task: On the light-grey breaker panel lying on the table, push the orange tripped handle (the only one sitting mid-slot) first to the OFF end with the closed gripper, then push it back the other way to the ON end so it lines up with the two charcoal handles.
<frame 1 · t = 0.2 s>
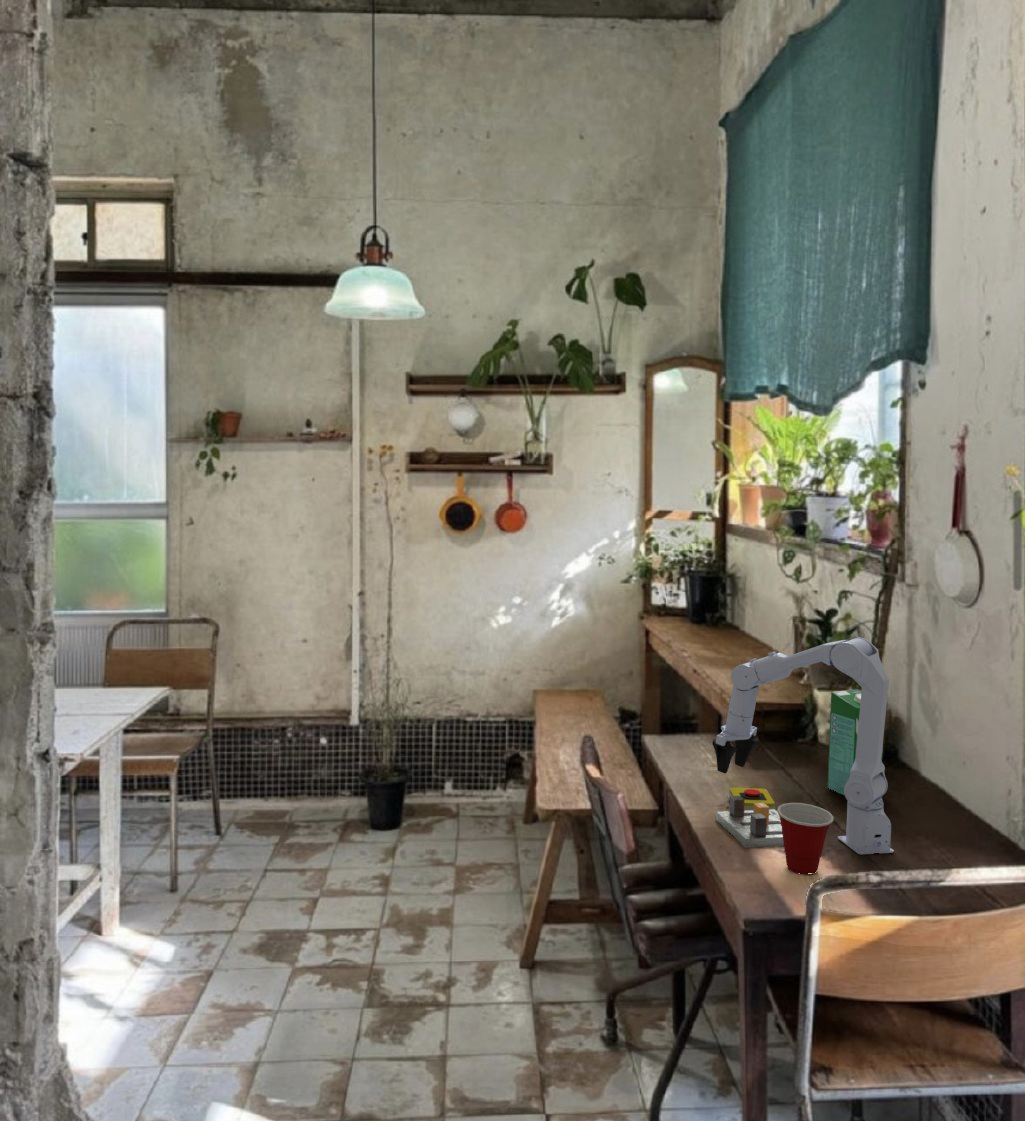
hand: (730, 768, 228), 10 cm above the table, tool pointing down, fingers open, 7 cm apart
emergency button: (751, 808, 234), on the table
milk carton: (853, 792, 246), on the table
plastic cup: (803, 870, 196), on the table
tripped breaker: (761, 813, 216), point 4 cm above the table, slide at 0.0 cm
breaker panel: (760, 832, 216), on the table
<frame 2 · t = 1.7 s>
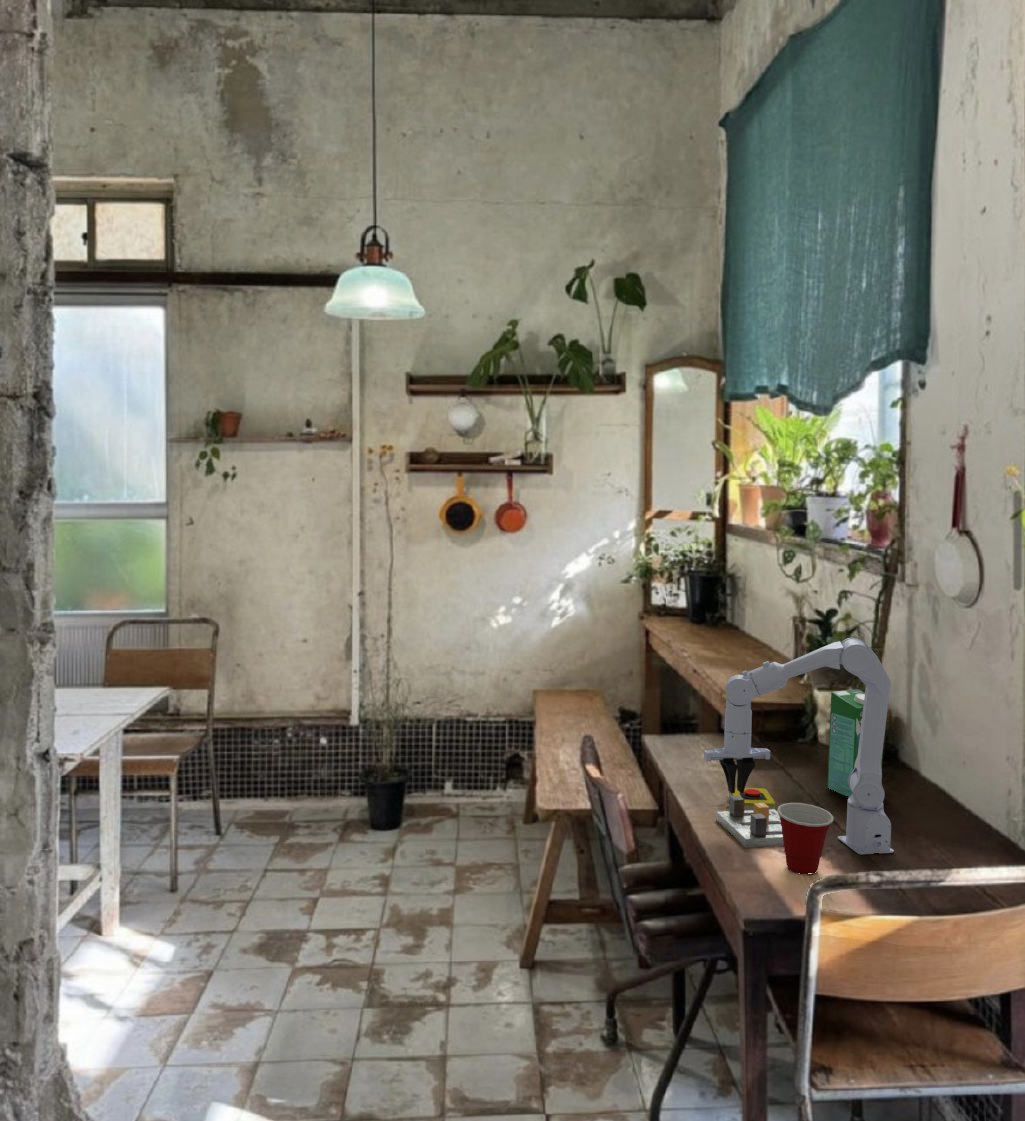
hand: (735, 791, 215), 9 cm above the table, tool pointing down, fingers closed
nothing on the table moved.
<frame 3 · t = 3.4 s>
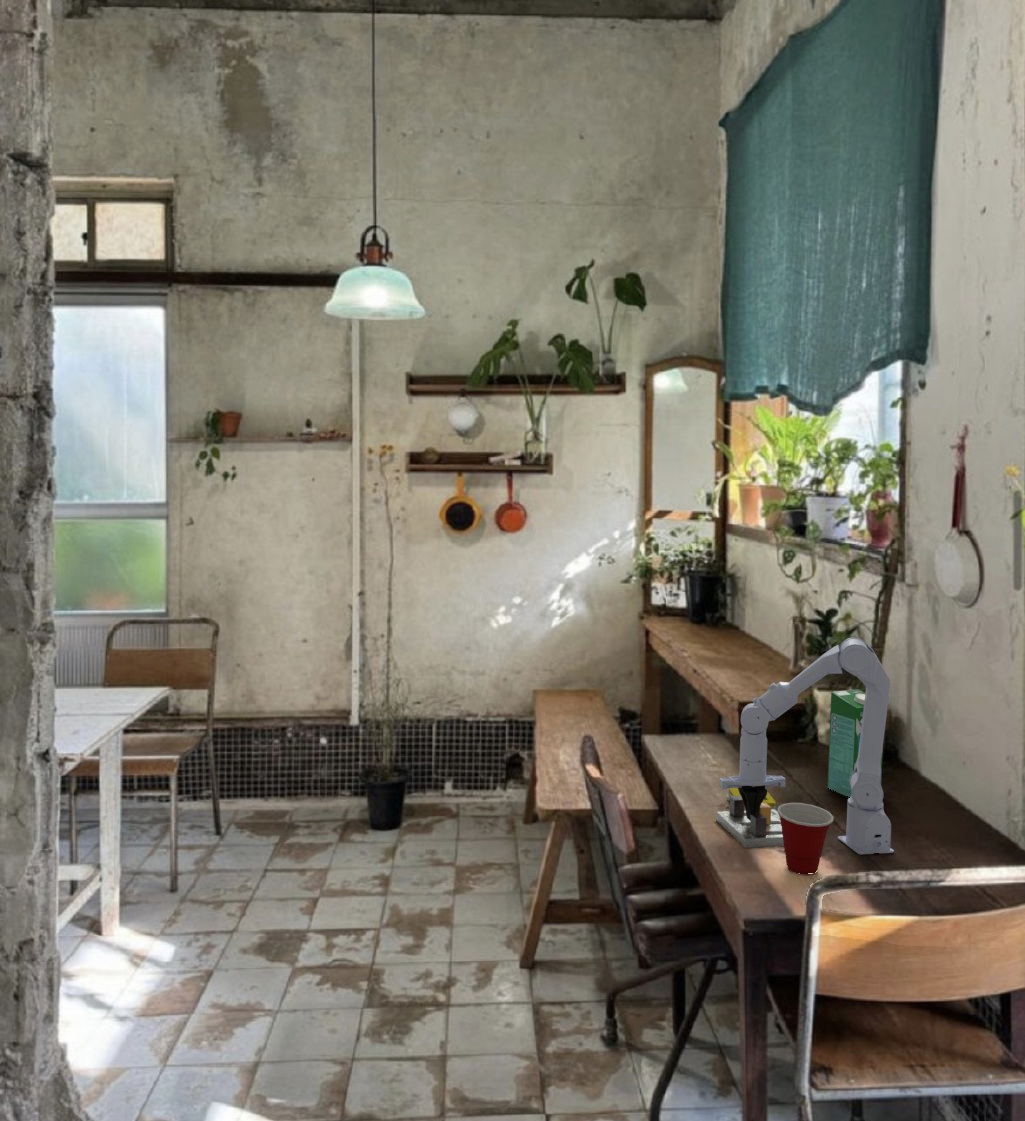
hand: (751, 819, 216), 3 cm above the table, tool pointing down, fingers closed
tripped breaker: (763, 813, 216), point 4 cm above the table, slide at -0.5 cm, touching gripper
everything else where it was.
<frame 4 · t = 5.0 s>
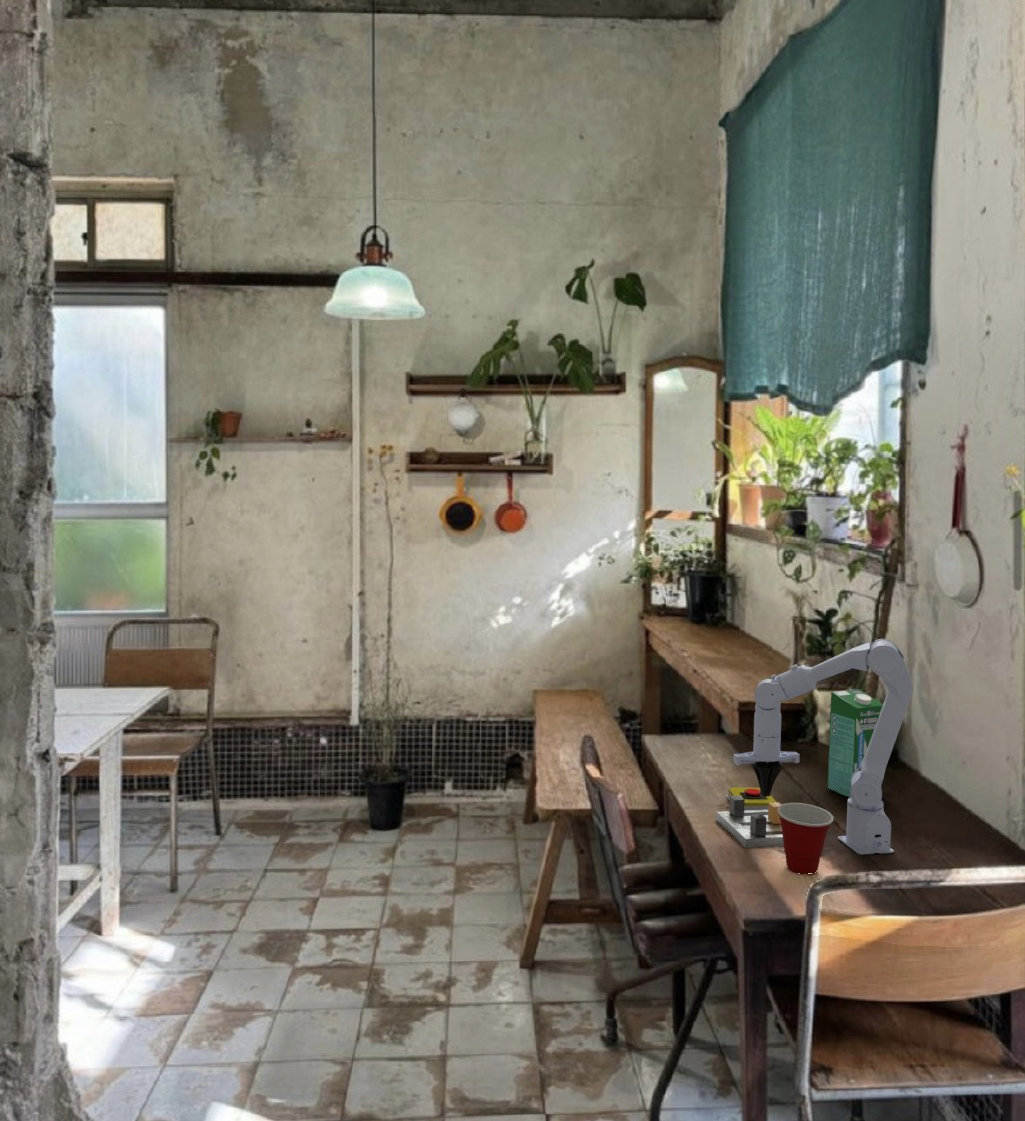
hand: (765, 795, 216), 8 cm above the table, tool pointing down, fingers closed
tripped breaker: (775, 812, 217), point 4 cm above the table, slide at -3.5 cm
everything else where it was.
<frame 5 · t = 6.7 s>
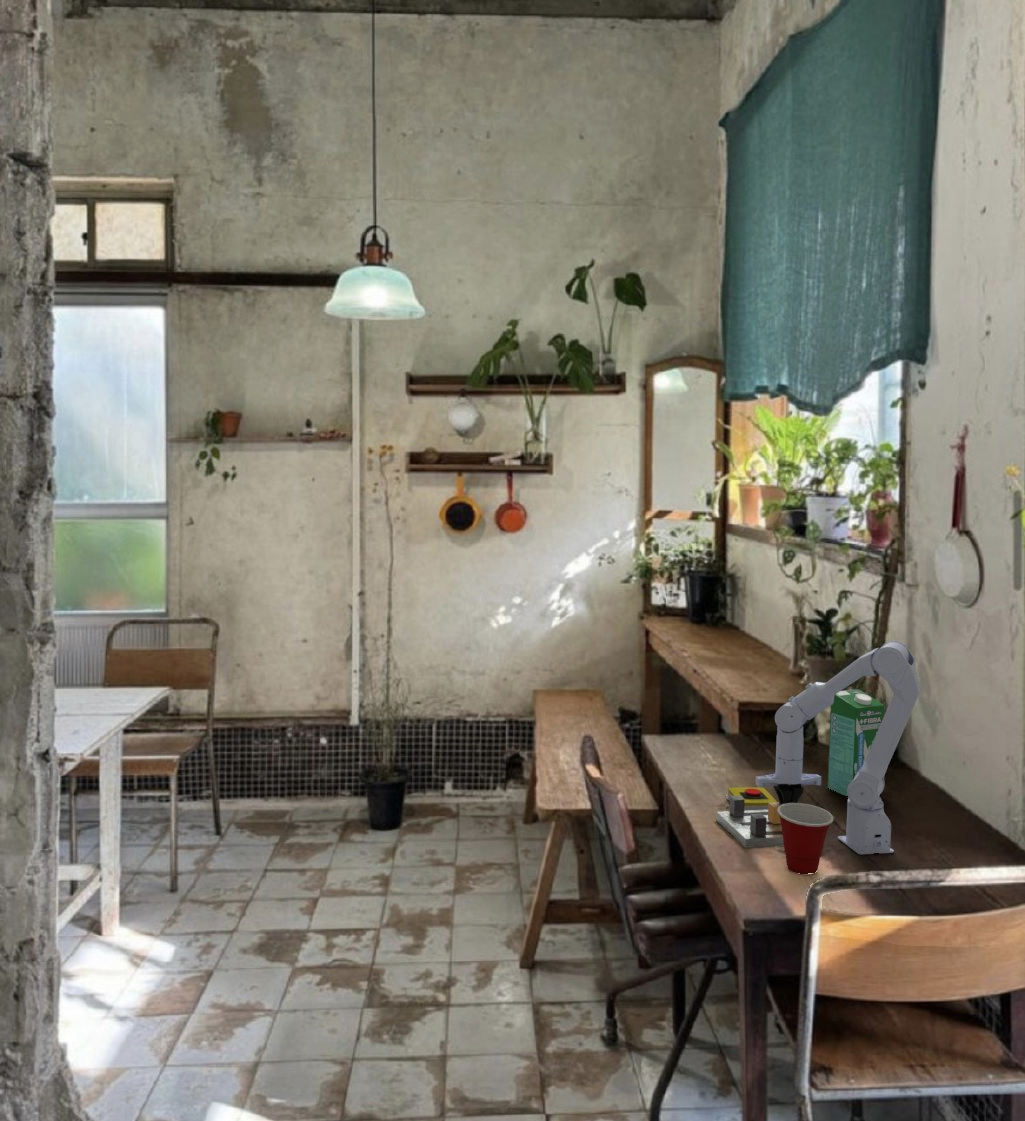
hand: (787, 817, 217), 3 cm above the table, tool pointing down, fingers closed
tripped breaker: (775, 812, 217), point 4 cm above the table, slide at -3.4 cm, touching gripper
everything else where it was.
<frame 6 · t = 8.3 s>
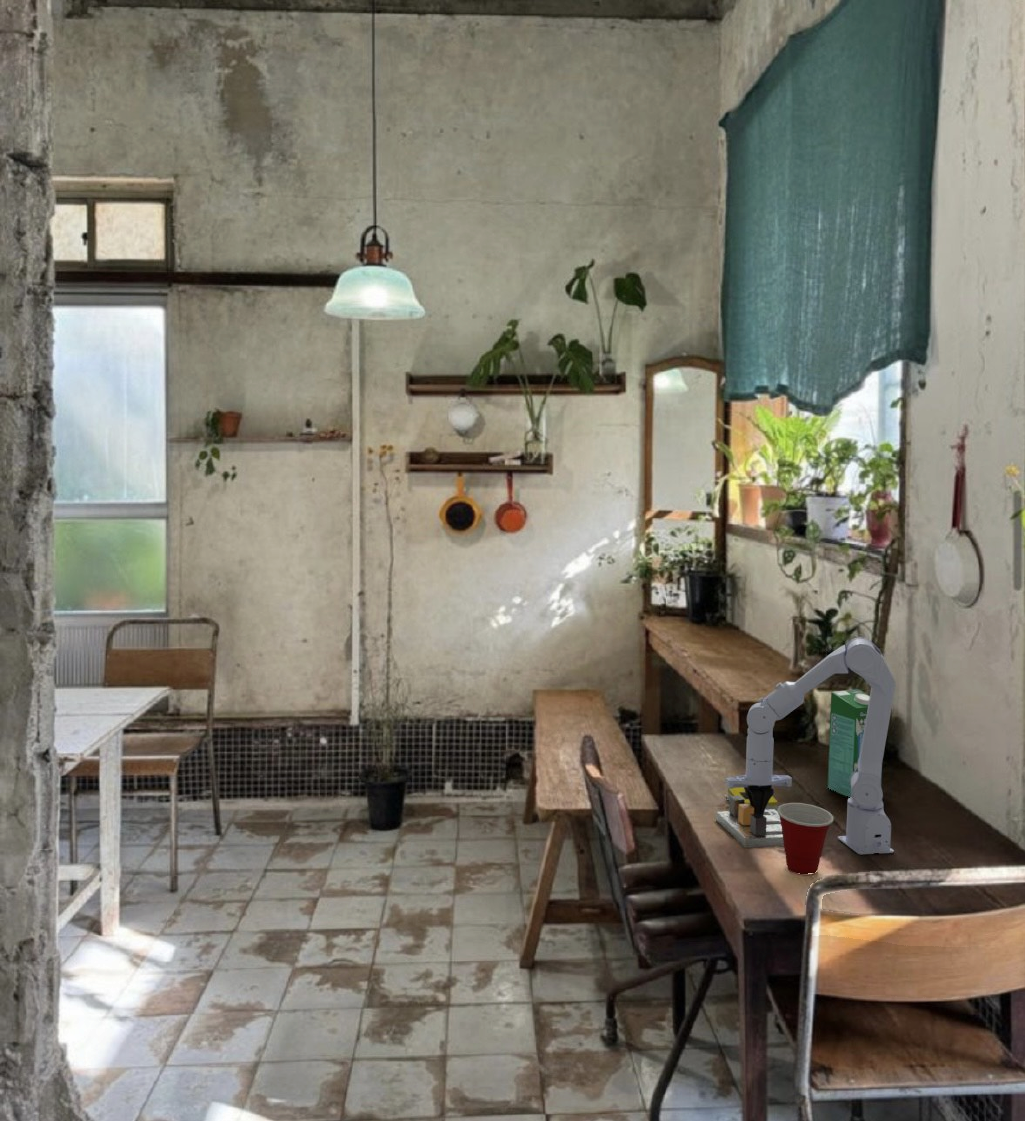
hand: (757, 818, 216), 3 cm above the table, tool pointing down, fingers closed
tripped breaker: (746, 814, 216), point 4 cm above the table, slide at 3.5 cm, touching gripper
everything else where it was.
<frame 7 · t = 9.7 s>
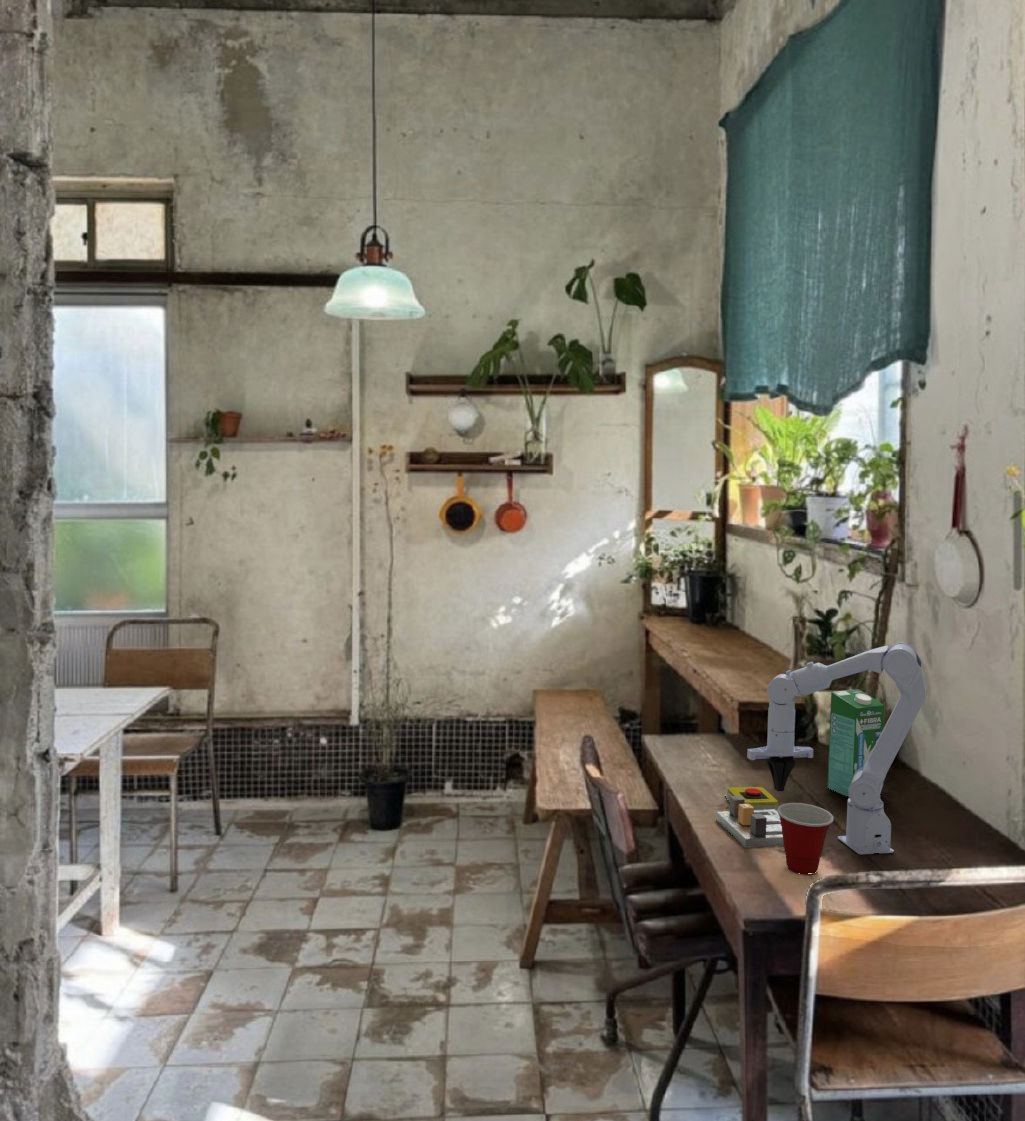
hand: (779, 789, 216), 9 cm above the table, tool pointing down, fingers closed
tripped breaker: (746, 814, 216), point 4 cm above the table, slide at 3.5 cm
everything else where it was.
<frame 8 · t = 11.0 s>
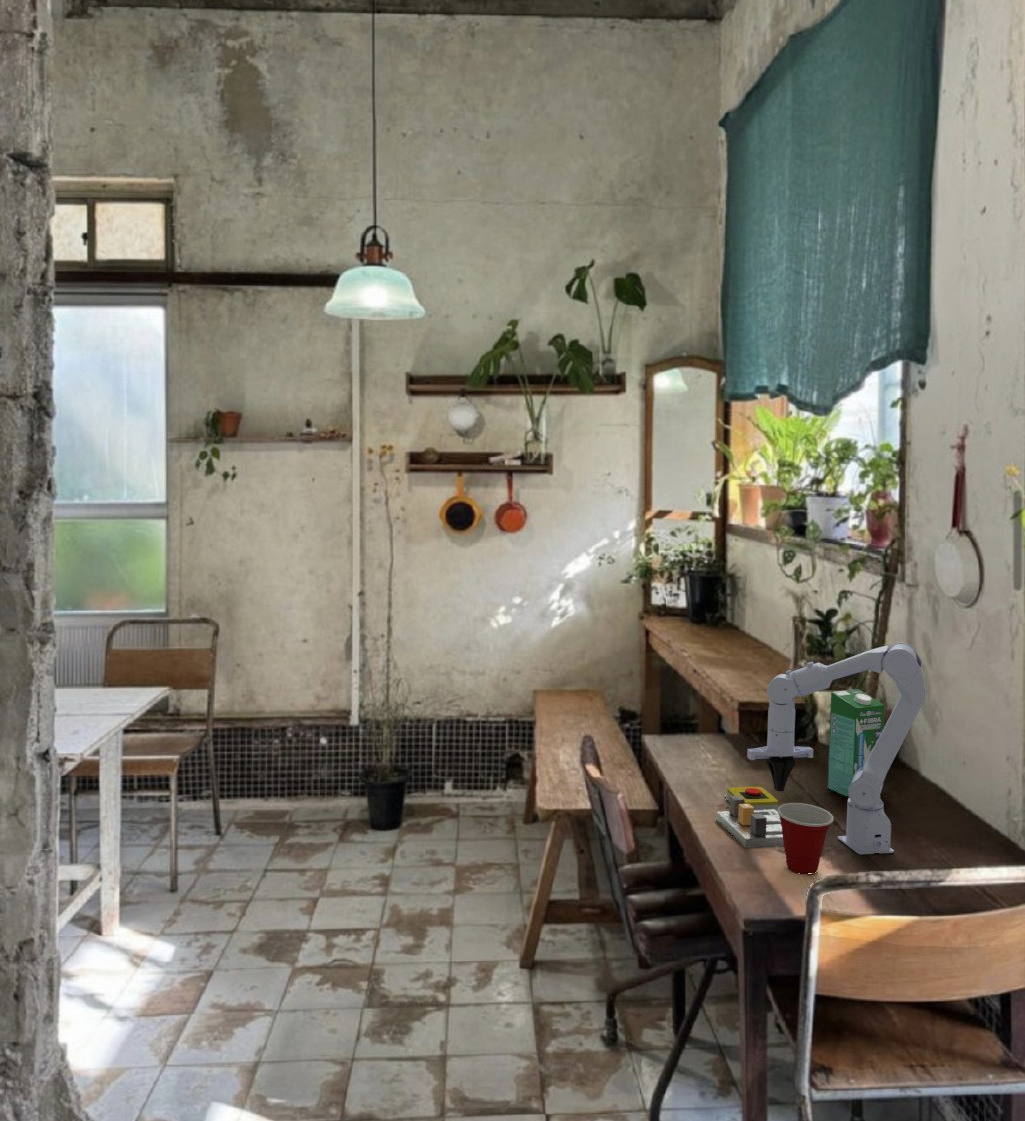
hand: (779, 789, 216), 9 cm above the table, tool pointing down, fingers closed
at the end: tripped breaker slide at 3.5 cm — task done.
